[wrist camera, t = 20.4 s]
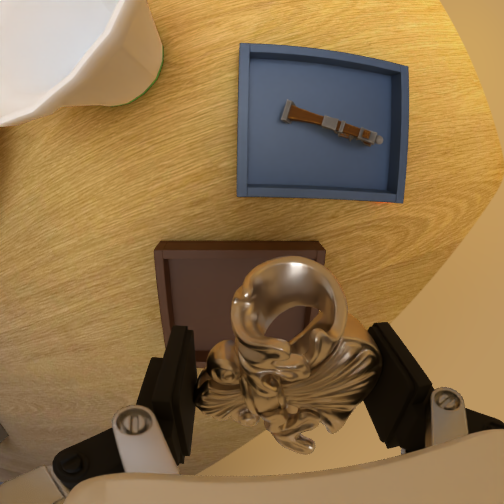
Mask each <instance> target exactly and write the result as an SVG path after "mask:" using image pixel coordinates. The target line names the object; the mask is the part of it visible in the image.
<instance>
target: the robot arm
mask: <svg viewBox="0 0 504 504" xmlns="http://www.w3.org/2000/svg"><path fill="white" fill-rule="evenodd" d="M368 332H369V334H370V335H371V337H372V338H373V340H374V341H375V343H376V345H377V347H378V349H379V351H380V353H381V355H382V360H383V365H382V371H381V374H380V376H379V378H378V381H377V383H376V385H375V386H374V388H373V389H372V391H371V392H370V393H369V394H368V395H367V397H366V398H365V399H364V400H363V401H364V403H365V405H366V408H367V410H368V412H369V415H370V417H371V419H372V422H373V424H374V426H375V429H376V431H377V433H378V436H379V438H380V440H381V441H382V442H385V444H386V446H387V448H388V449H389V448H393V447H397V446H400V447H401V448H402V449H401V455H399V456H395V457H391V458H387V459H383V460H378V461H374V462H369V463H364V464H359V465H354V466H348V467H342V468H336V469H330V470H322V471H314V472H305V473H295V474H283V475H267V476H196V475H181V473H180V471H179V469H178V467H177V466H178V465H179V463H182V464H184V458H185V456H190V452H191V443H192V433H193V424H194V415H195V407H196V406H195V404H194V393H195V386H196V382H197V369H196V357H195V345H194V332H193V330H188V326H180V325H173V327H172V330H171V333H170V336H169V340H168V343H167V346H166V350H165V353H164V357H163V358H156V357H152V358H151V360H150V363H149V366H148V369H147V372H146V375H145V378H144V381H143V384H142V387H141V390H140V393H139V397H138V400H137V403H136V405H129V406H126V407H123V408H121V409H120V410H118V411H117V412H116V413H115V414H114V416H113V418H112V428H110V429H108V430H106V431H104V432H102V433H100V434H98V435H95V436H93V437H91V438H89V439H87V440H84V441H82V442H80V443H78V444H76V445H73V446H71V447H69V448H66V449H64V450H62V451H61V452H59V453H58V454H57V455H56V456H55V458H54V460H53V464H52V465H50V466H48V467H46V466H45V465H42V466H40V467H38V468H36V469H34V470H31V471H29V472H27V473H25V474H22V475H20V476H18V477H16V478H13V479H11V480H8V481H6V482H4V483H3V484H1V485H0V504H504V423H503V422H502V421H500V420H498V419H496V418H493V417H490V416H487V415H484V414H481V413H478V412H475V411H472V410H470V409H467V408H465V405H464V400H463V398H462V396H461V395H460V394H459V393H458V392H457V391H455V390H453V389H451V388H447V387H441V388H437V389H435V390H434V388H433V387H432V383H431V381H430V380H429V378H428V377H427V375H426V374H425V373H424V371H423V370H422V368H421V367H420V365H419V364H418V363H417V361H416V360H415V359H414V357H413V356H412V354H411V353H410V352H409V350H408V349H407V347H406V346H405V345H404V343H403V342H402V341H401V339H400V338H399V337H398V335H397V334H396V333H395V331H394V330H393V329H392V327H391V326H390V325H389V323H388V322H382V323H374V324H373V325H372V327H369V329H368Z"/></svg>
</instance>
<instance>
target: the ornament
mask: <svg viewBox="0 0 504 504" xmlns="http://www.w3.org/2000/svg"><path fill="white" fill-rule="evenodd" d="M294 306H308V307H313V308H316V309H319V310H320V311H321V312H319V314H318V315H317V316H316V317H315V318H314V319H313V320H312V321H311V322H310V324H309V325H308V326H307V327H306V328H305V329H304V330H303V331H302V332H301V333H299V334H298V335H297V336H296V337H294V338H293V339H292V340H290V341H289V342H287V341H286V340H283V339H279V338H272V337H266V336H264V334H265V332H266V330H267V329H268V327H269V325H270V324H271V323H272V321H273V320H274V319H275V318H276V317H277V316H278V315H279V314H281V313H282V312H284V311H286V310H287V309H289V308H292V307H294ZM231 324H232V329H233V332H234V334H235V336H236V338H235V342H234V341H232V340H223V341H221V342H219V343H217V344H216V345H215V346H214V347H213V348H212V349H211V351H210V352H209V355H208V357H207V364H206V367H205V368H204V369H203V370H202V372H201V373H200V375H199V377H198V379H197V382H196V386H195V393H194V404H195V406H196V407H198V408H199V409H200V410H201V411H202V413H203V414H205V415H207V416H212V417H213V418H215V419H217V420H220V421H225V420H227V419H228V418H229V417H230V418H231V419H233V420H234V421H236V422H238V423H240V424H242V425H244V426H254V425H256V424H257V423H258V422H259V418H260V417H261V418H262V419H264V425H265V428H266V429H267V430H268V431H270V432H271V434H272V435H273V436H274V438H275V439H276V440H277V442H278V443H279V444H281V445H282V446H283V447H285V448H287V449H290V450H292V451H294V452H297V453H300V454H310V453H312V452H313V451H314V449H315V442H314V441H313V440H311V439H309V438H307V437H304V436H303V435H302V434H301V433H302V432H305V431H309V430H313V429H314V428H316V427H317V426H318V425H319V422H321V423H322V424H324V425H325V426H326V428H327V431H328V432H329V433H331V434H334V433H336V432H337V431H339V430H340V429H341V428H342V427H343V426H344V424H345V422H346V420H347V419H348V417H349V416H350V415H351V413H352V412H353V410H354V409H355V408H356V406H357V405H358V404H359V403H361V402H362V401H363V400H364V399H365V398H366V397H367V395H368V394H369V393H370V392H371V391H372V389H373V388H374V386H375V385H376V383H377V381H378V378H379V376H380V374H381V371H382V365H383V360H382V355H381V353H380V351H379V349H378V347H377V345H376V343H375V341H374V340H373V338H372V337H371V335H370V334H369V332H368V331H367V330H366V329H365V327H364V326H363V325H362V324H361V323H360V322H359V321H358V320H357V319H356V318H355V317H354V316H352V315H351V314H349V313H348V307H347V301H346V296H345V293H344V291H343V289H342V287H341V285H340V283H339V281H338V280H337V278H336V277H335V276H334V274H333V273H332V272H331V271H330V270H329V269H327V268H326V267H325V266H323V265H322V264H320V263H318V262H316V261H314V260H312V259H309V258H306V257H301V256H282V257H277V258H274V259H271V260H268V261H266V262H263V263H262V264H259V265H258V266H256V267H255V268H253V269H252V270H251V271H250V272H249V274H248V275H247V276H246V277H245V279H244V282H243V285H242V286H241V287H239V288H238V289H237V290H236V292H235V294H234V297H233V300H232V305H231Z"/></svg>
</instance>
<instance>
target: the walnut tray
mask: <svg viewBox="0 0 504 504" xmlns="http://www.w3.org/2000/svg"><path fill="white" fill-rule="evenodd" d="M325 254H326V250H325V249H324V248H323V246H322V245H321V244H320V243H319V241H160V242H159V244H158V245H157V246H156V248H155V249H154V260H155V270H156V280H157V289H158V297H159V305H160V313H161V321H162V328H163V335H164V341H165V348H166V346H167V343H168V340H169V336H170V333H171V330H172V327H173V325H180V326H188V330H193V332H194V345H195V357H196V368H205V367H206V364H207V357H208V355H209V352H210V351H211V349H212V348H213V347H214V346H215V345H216V344H217V343H219V342H221V341H223V340H232V341H234V342H235V338H236V336H235V334H234V332H233V329H232V324H231V305H232V300H233V297H234V294H235V292H236V290H237V289H238V288H239V287H241V286H242V285H243V282H244V279H245V277H246V276H247V275H248V274H249V272H250V271H251V270H252V269H253V268H255V267H256V266H258V265H259V264H262V263H263V262H266V261H268V260H271V259H274V258H277V257H282V256H301V257H306V258H309V259H312V260H314V261H316V262H318V263H320V264H322V265H323V266H324V264H325ZM318 313H319V309H316V308H313V307H308V306H294V307H292V308H289V309H287V310H286V311H284V312H282V313H281V314H279V315H278V316H277V317H276V318H275V319H274V320H273V321H272V323H271V324H270V325H269V327H268V329H267V330H266V332H265V334H264V336H266V337H272V338H279V339H283V340H286V341H287V342H289V341H290V340H292V339H293V338H294V337H296V336H297V335H298V334H299V333H301V332H302V331H303V330H304V329H305V328H306V327H307V326H308V325H309V324H310V322H311V321H312V320H313V319H314V318H315V317H316V316H317V315H318Z"/></svg>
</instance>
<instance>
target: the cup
mask: <svg viewBox="0 0 504 504" xmlns="http://www.w3.org/2000/svg"><path fill="white" fill-rule="evenodd" d="M163 57H164V51H163V45H162V43H161V40H160V37H159V34H158V31H157V28H156V26H155V23H154V20H153V17H152V14H151V11H150V8H149V6H148V3H147V0H0V127H5V126H16V125H20V124H23V123H26V122H29V121H32V120H35V119H38V118H41V117H44V116H48V115H51V114H53V113H54V112H55V111H56V110H58V109H59V108H60V107H69V106H89V105H103V106H110V107H114V106H121V105H125V104H129V103H131V102H133V101H134V100H136V99H138V98H139V97H140V96H142V95H143V94H145V93H146V92H147V91H148V90H149V88H150V87H151V86H152V85H153V84H154V83H155V82H156V80H157V79H158V76H159V74H160V71H161V68H162V65H163Z"/></svg>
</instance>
